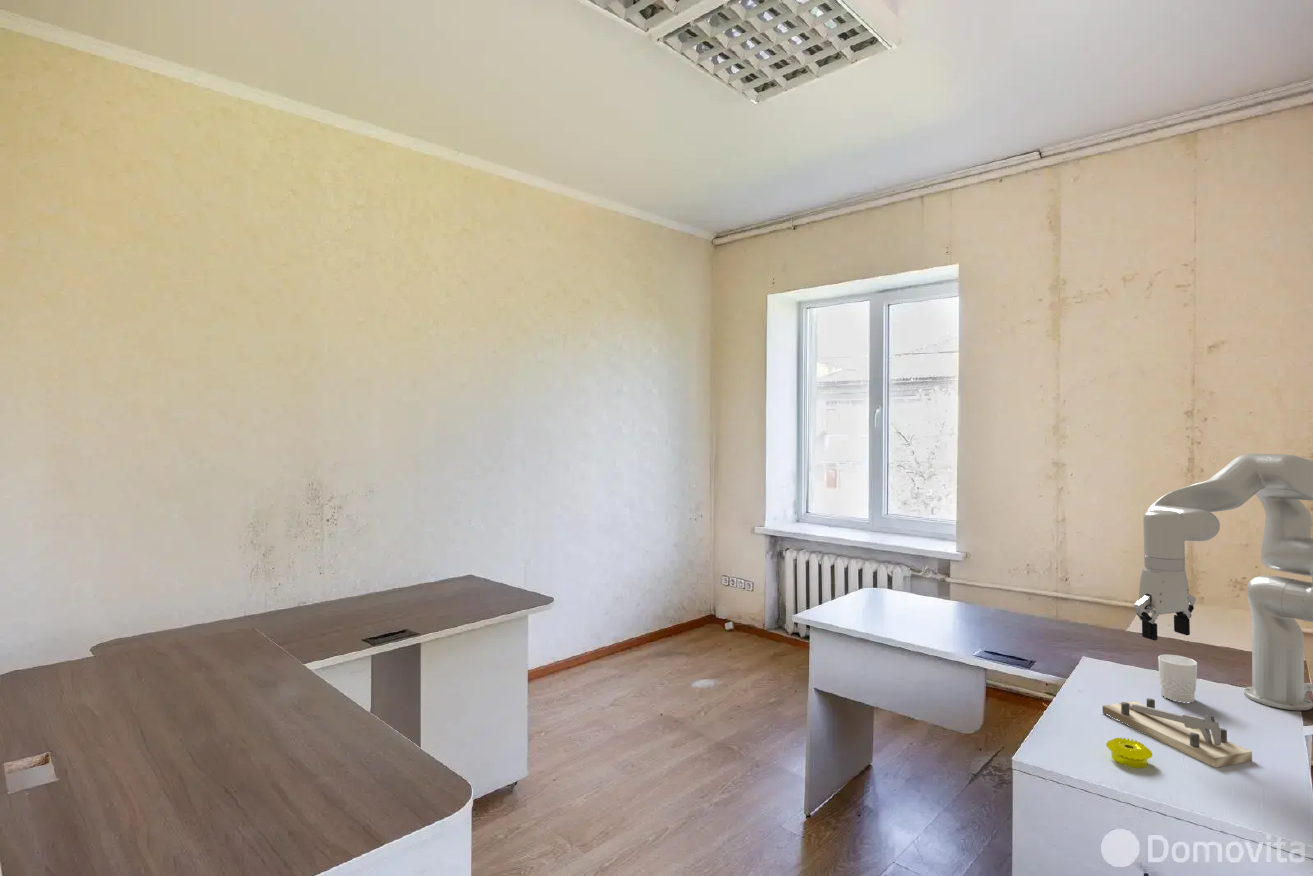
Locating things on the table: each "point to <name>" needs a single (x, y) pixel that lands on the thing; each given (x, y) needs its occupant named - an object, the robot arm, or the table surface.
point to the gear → (1129, 752)
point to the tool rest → (1180, 735)
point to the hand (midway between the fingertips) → (1166, 636)
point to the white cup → (1177, 677)
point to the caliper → (1187, 722)
